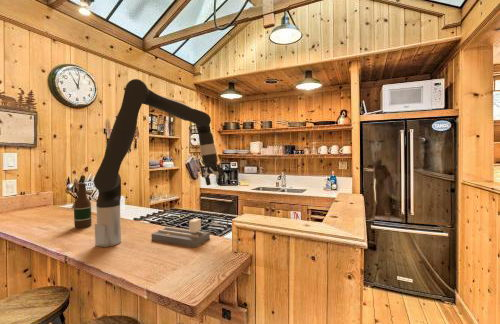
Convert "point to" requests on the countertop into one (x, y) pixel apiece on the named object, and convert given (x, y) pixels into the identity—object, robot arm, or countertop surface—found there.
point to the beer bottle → (82, 208)
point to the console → (180, 236)
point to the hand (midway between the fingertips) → (214, 185)
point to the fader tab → (195, 226)
